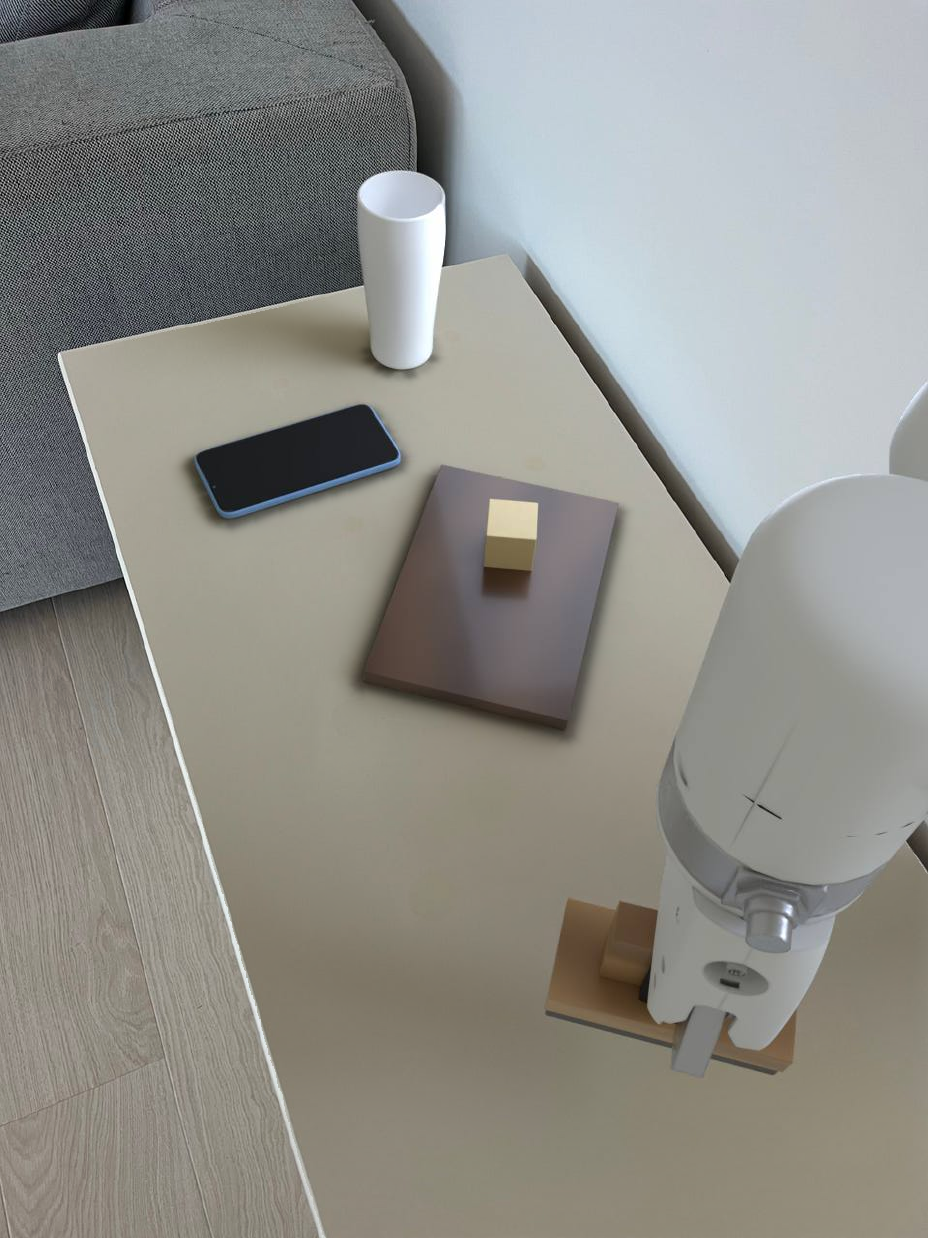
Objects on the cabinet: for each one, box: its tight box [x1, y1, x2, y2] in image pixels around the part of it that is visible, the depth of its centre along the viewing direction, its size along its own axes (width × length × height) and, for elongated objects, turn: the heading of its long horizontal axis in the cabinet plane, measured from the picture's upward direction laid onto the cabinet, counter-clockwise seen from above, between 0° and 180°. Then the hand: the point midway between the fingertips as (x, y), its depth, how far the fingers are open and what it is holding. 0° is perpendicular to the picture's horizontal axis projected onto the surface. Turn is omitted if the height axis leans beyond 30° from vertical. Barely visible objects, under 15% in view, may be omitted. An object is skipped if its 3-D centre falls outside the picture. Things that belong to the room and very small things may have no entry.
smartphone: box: [194, 403, 402, 519], centre depth 84 cm, size 7×1×15 cm
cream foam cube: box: [484, 499, 538, 571], centre depth 77 cm, size 4×4×4 cm
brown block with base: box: [544, 897, 798, 1076], centre depth 49 cm, size 5×11×8 cm, turn 76°
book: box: [363, 464, 620, 731], centre depth 77 cm, size 14×20×1 cm
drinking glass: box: [356, 169, 446, 370], centre depth 87 cm, size 7×7×15 cm
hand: (676, 975), depth 50 cm, fingers closed on brown block with base
